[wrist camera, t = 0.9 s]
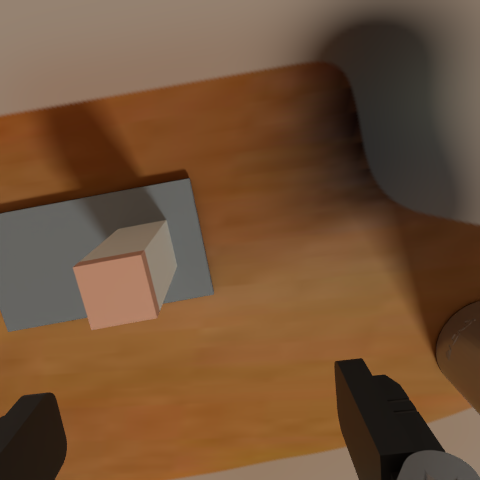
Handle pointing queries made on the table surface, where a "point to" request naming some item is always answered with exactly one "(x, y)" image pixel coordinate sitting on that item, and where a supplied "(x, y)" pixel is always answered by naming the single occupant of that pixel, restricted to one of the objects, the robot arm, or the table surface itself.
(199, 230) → the slate mat
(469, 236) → the table surface
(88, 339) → the table surface
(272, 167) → the table surface
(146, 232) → the cream block
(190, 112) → the table surface
